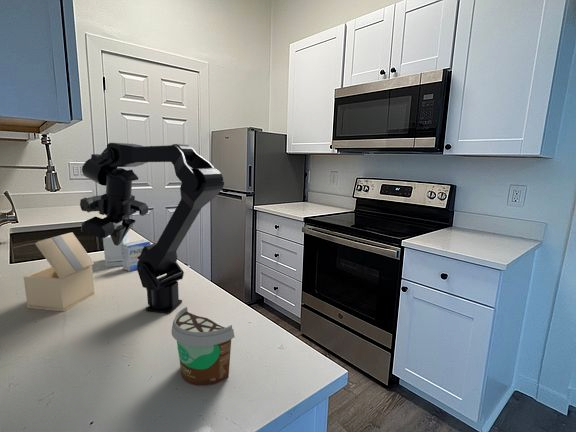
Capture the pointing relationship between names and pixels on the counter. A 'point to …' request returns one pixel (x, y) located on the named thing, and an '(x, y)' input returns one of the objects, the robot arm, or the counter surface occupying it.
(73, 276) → the carton
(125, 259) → the medicine box
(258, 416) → the counter surface
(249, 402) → the counter surface
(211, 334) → the food container
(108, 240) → the skincare box
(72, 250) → the carton lid
